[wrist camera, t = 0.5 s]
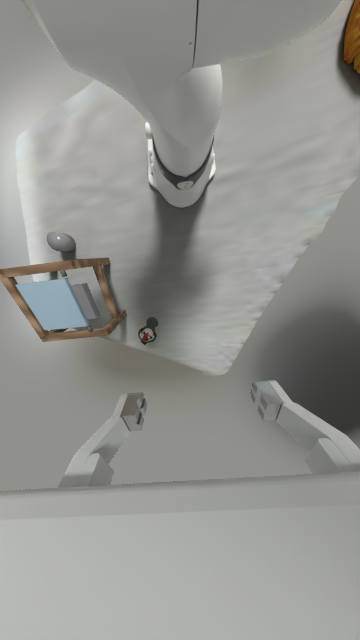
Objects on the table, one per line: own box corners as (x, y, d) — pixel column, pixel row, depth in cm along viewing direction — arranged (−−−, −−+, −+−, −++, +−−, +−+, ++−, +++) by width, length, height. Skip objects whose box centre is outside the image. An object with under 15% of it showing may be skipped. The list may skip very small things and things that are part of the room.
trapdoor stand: (49, 265, 48) (-9, 270, 33) (108, 257, 47) (76, 259, 32) (76, 320, 58) (41, 342, 43) (126, 314, 57) (107, 335, 42)
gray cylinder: (57, 235, 44) (43, 233, 40) (71, 233, 44) (59, 230, 40) (64, 252, 46) (52, 251, 42) (78, 250, 46) (67, 249, 42)
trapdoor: (25, 283, 38) (15, 284, 35) (83, 275, 36) (77, 277, 34) (51, 326, 44) (44, 330, 41) (102, 321, 42) (98, 325, 40)
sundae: (154, 313, 56) (146, 331, 43) (162, 325, 59) (157, 346, 46) (141, 319, 58) (129, 339, 44) (150, 331, 60) (141, 353, 47)
